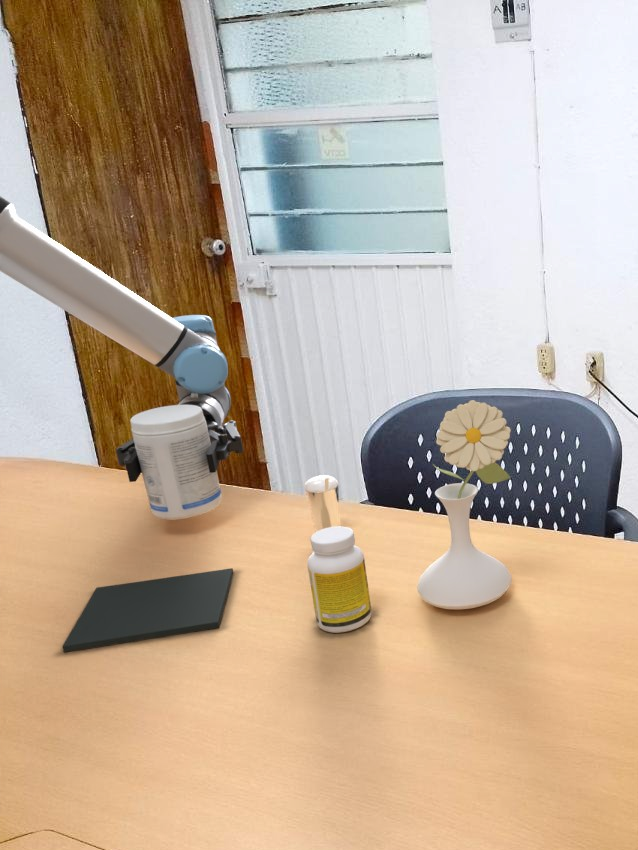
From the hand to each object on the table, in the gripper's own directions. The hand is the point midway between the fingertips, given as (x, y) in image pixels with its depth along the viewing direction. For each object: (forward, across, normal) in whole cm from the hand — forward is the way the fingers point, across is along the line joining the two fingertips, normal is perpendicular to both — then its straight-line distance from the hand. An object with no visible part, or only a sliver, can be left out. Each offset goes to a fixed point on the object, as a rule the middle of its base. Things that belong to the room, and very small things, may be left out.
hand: (171, 468), depth 115 cm
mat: (+21, 0, +11) cm, 23 cm away
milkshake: (+7, +20, +11) cm, 24 cm away
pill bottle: (+31, +22, +11) cm, 39 cm away
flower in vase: (+30, +37, +11) cm, 49 cm away
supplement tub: (-4, 0, +8) cm, 9 cm away
